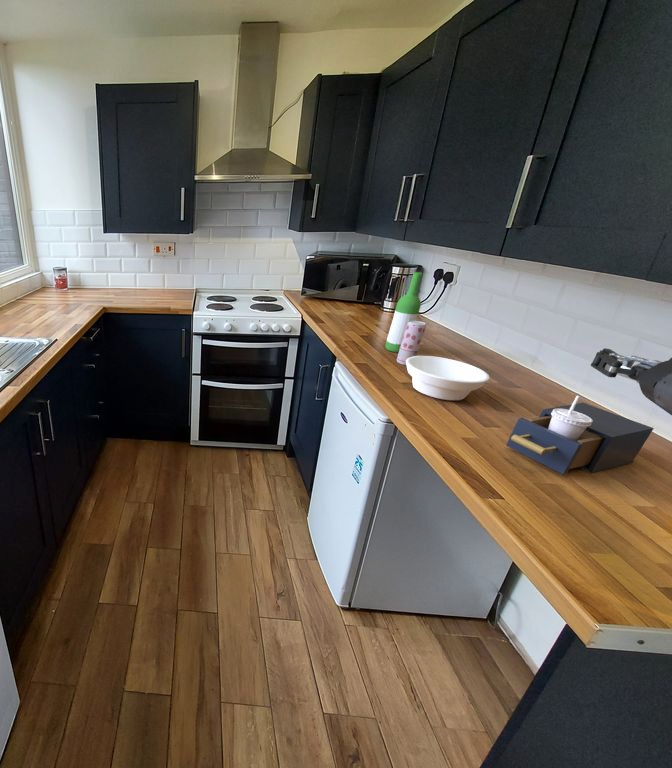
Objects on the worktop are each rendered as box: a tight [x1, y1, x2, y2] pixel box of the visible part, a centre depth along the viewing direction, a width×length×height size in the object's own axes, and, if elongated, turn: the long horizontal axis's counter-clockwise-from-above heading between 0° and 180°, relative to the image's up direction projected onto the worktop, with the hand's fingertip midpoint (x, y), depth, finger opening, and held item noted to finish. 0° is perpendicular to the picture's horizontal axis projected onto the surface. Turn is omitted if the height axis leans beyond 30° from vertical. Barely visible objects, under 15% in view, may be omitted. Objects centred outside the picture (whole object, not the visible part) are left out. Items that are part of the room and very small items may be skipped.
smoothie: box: [548, 395, 593, 441], centre depth 86 cm, size 6×6×14 cm
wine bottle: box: [384, 271, 423, 354], centre depth 152 cm, size 8×8×30 cm
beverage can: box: [396, 320, 427, 366], centre depth 142 cm, size 6×6×15 cm
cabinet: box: [538, 402, 654, 474], centre depth 92 cm, size 15×13×9 cm
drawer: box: [506, 416, 606, 475], centre depth 88 cm, size 18×11×7 cm, turn 108°
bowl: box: [405, 355, 491, 401], centre depth 120 cm, size 21×21×8 cm
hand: (635, 358), depth 70 cm, fingers open, 8 cm apart
